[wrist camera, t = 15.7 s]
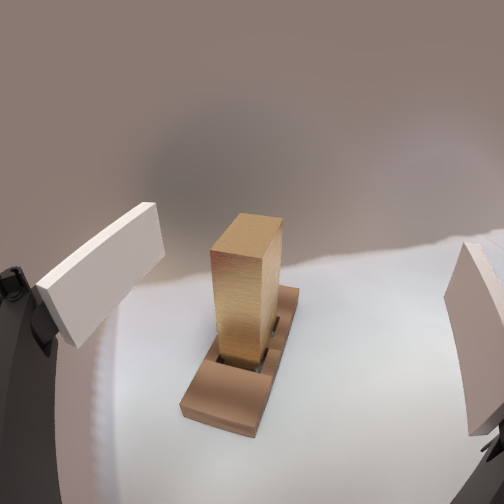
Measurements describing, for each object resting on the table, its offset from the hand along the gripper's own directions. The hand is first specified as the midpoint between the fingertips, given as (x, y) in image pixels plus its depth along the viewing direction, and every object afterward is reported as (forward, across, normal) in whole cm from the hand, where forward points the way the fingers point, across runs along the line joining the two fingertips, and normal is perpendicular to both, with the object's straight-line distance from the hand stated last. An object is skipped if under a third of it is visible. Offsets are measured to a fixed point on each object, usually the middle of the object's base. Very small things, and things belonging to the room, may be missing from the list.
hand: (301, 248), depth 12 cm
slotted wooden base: (+10, -6, -20) cm, 24 cm away
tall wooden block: (+10, -6, -20) cm, 24 cm away
